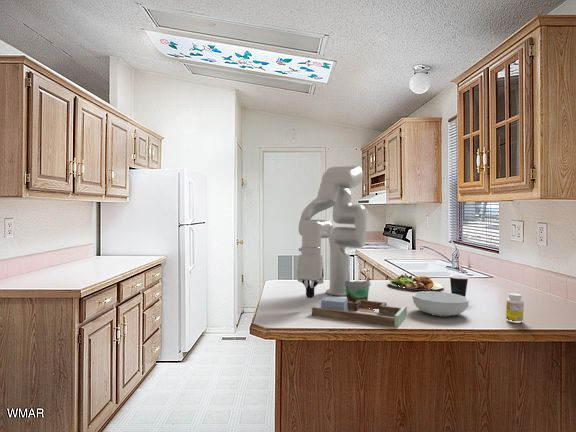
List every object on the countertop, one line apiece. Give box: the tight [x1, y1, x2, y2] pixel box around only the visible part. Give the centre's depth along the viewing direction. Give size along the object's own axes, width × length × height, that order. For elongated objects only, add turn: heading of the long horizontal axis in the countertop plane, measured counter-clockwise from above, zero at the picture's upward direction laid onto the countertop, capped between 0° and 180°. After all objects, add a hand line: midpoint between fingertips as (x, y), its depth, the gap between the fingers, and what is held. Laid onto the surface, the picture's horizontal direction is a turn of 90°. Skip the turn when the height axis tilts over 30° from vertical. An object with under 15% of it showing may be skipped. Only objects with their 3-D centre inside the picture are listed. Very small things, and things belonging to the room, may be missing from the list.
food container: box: [344, 278, 372, 303], centre depth 182 cm, size 12×6×10 cm, turn 117°
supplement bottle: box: [505, 293, 525, 321], centre depth 157 cm, size 6×6×10 cm
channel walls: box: [311, 300, 402, 328], centre depth 165 cm, size 22×31×3 cm
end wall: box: [394, 305, 408, 328], centre depth 156 cm, size 16×1×4 cm, turn 154°
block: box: [320, 296, 348, 311], centre depth 167 cm, size 7×9×6 cm
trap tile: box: [357, 308, 375, 313], centre depth 171 cm, size 5×8×1 cm, turn 64°
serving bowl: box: [412, 290, 470, 317], centre depth 168 cm, size 21×21×7 cm
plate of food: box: [387, 273, 445, 291], centre depth 223 cm, size 28×28×6 cm
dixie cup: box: [449, 274, 469, 297], centre depth 190 cm, size 8×8×11 cm
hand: (310, 297), depth 170 cm, fingers closed
